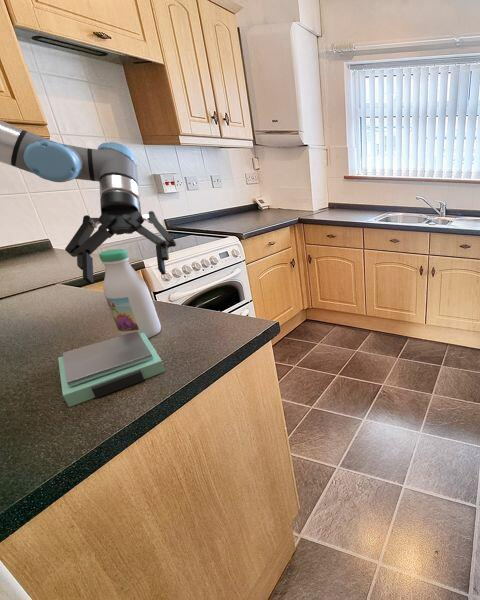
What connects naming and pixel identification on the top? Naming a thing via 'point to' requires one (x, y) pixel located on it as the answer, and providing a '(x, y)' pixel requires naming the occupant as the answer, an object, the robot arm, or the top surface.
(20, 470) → the top surface
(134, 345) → the scale pan
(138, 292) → the milk bottle
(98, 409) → the top surface
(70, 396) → the scale
